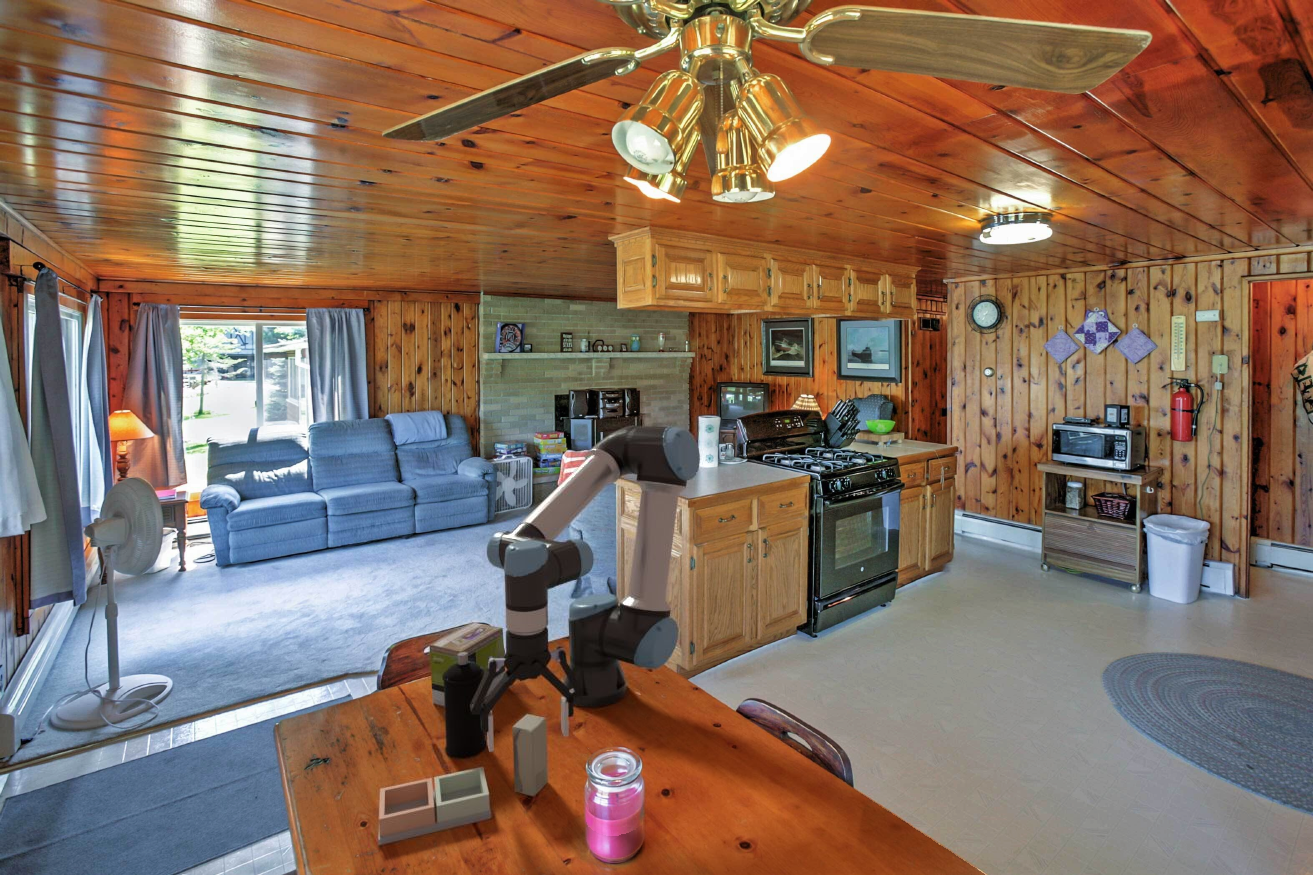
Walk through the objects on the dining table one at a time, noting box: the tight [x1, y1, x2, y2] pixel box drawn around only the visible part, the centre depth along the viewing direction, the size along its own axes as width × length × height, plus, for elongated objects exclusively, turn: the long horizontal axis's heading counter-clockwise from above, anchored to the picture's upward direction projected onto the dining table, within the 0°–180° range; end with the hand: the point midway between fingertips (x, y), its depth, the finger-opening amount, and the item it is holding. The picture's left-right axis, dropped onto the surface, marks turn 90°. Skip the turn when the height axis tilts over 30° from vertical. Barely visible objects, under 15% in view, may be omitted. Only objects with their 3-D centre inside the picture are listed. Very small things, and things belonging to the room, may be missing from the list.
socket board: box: [377, 766, 492, 846], centre depth 116 cm, size 18×10×4 cm, turn 111°
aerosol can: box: [442, 652, 488, 760], centre depth 136 cm, size 8×8×20 cm
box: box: [512, 713, 549, 797], centre depth 123 cm, size 5×4×13 cm
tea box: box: [428, 621, 506, 708], centre depth 158 cm, size 15×10×15 cm
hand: (528, 740), depth 122 cm, fingers open, 13 cm apart
